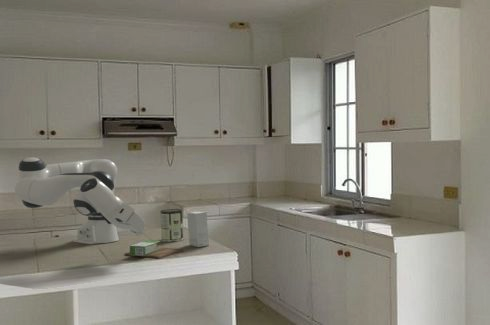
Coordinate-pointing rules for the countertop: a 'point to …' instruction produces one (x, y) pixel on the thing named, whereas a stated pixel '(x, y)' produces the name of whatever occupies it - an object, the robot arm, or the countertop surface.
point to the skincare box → (198, 229)
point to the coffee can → (171, 225)
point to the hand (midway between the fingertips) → (139, 233)
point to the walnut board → (160, 252)
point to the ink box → (144, 248)
